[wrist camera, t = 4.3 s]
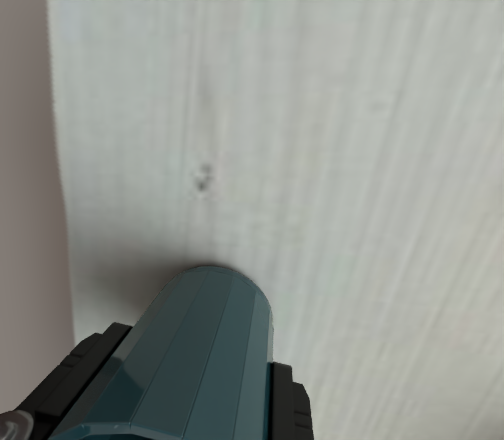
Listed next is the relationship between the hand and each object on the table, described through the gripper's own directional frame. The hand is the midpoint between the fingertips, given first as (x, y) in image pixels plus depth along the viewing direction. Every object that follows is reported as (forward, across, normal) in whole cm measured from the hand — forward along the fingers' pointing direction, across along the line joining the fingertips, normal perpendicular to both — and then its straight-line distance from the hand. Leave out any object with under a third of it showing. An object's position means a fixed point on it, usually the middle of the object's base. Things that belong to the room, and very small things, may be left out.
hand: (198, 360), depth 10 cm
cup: (+3, 0, 0) cm, 3 cm away
